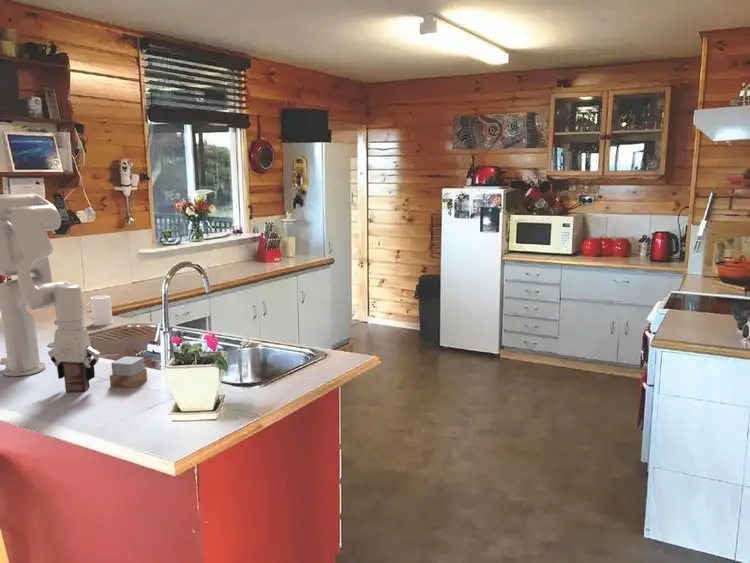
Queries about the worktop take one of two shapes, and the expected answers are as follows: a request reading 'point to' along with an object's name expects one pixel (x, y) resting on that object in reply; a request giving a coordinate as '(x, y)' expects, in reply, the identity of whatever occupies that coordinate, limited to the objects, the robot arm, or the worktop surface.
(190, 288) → the worktop surface
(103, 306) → the mug
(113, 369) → the tower top
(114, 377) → the tower base
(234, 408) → the worktop surface
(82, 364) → the box
